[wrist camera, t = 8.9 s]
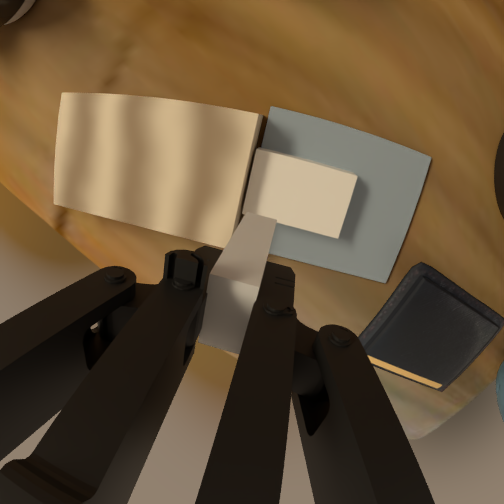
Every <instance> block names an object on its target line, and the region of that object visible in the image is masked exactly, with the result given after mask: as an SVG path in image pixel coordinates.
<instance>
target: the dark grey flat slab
mask: <svg viewBox="0 0 504 504" xmlns="http://www.w3.org/2000/svg"><path fill="white" fill-rule="evenodd" d="M503 325H504V318H503V317H502V316H500V315H499V314H498V313H497V312H495V311H494V310H492V309H491V308H490V307H488V306H487V305H485V304H484V303H482V302H481V301H479V300H478V299H476V298H475V297H473V296H472V295H470V294H469V293H468V292H466V291H465V290H463V289H462V288H461V287H459V286H458V285H456V284H455V283H454V282H452V281H451V280H449V279H448V278H447V277H445V276H444V275H442V274H441V273H440V272H438V271H437V270H436V269H434V268H433V267H431V266H429V265H427V264H425V263H422V262H420V263H418V264H417V265H415V266H413V267H412V268H411V269H410V270H409V272H408V273H407V274H406V275H405V277H404V278H403V279H402V281H401V282H400V284H399V285H398V286H397V288H396V289H395V291H394V292H393V293H392V295H391V296H390V298H389V299H388V300H387V302H386V303H385V304H384V306H383V307H382V308H381V310H380V311H379V312H378V314H377V315H376V316H375V317H374V319H373V320H372V321H371V322H370V323H369V325H368V326H367V327H366V328H365V329H364V331H363V332H362V333H361V334H360V335H359V337H358V338H359V340H360V342H361V344H362V346H363V348H364V350H365V351H366V353H367V355H368V357H369V359H370V361H371V363H372V365H373V366H375V367H377V368H380V369H382V370H385V371H388V372H390V373H393V374H395V375H398V376H400V377H403V378H406V379H408V380H411V381H414V382H416V383H419V384H422V385H424V386H427V387H430V388H433V389H435V390H438V391H441V392H443V391H444V390H445V389H446V388H447V387H448V386H449V385H450V384H451V383H452V382H453V381H454V380H455V379H457V378H458V377H459V376H460V375H461V374H462V373H463V372H464V371H465V370H466V369H467V368H468V366H469V365H470V364H471V363H472V362H473V361H474V360H475V359H476V358H477V357H478V356H479V355H480V354H481V352H482V351H483V350H484V349H485V348H486V347H487V346H488V345H489V343H490V342H491V341H492V340H493V339H494V338H495V336H496V335H497V334H498V333H499V331H500V330H501V329H502V327H503Z"/></svg>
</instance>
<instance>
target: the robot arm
mask: <svg viewBox="0 0 504 504" xmlns="http://www.w3.org/2000/svg"><path fill="white" fill-rule="evenodd" d="M494 183H495V193H496V198H497V203H498V206H499V209H500V212H501V214H502V216H503V218H504V133H503V135H502V138H501V140H500V143H499V146H498V150H497V154H496V160H495V170H494ZM276 222H277V220H276V219H272V218H269V217H265V216H261V215H257V214H253V213H249V212H246V214H245V215H244V217H243V219H242V220H241V222H240V224H239V225H238V227H237V229H236V230H235V232H234V234H233V235H232V237H231V239H230V240H229V242H228V244H227V245H226V247H225V249H224V250H219V249H215V248H212V247H208V246H203V247H201V248H198V249H196V250H195V251H189V250H174V251H170V252H168V253H167V254H165V263H164V274H163V279H162V280H161V281H160V282H159V284H156V285H154V284H141V283H136V275H135V273H134V272H132V271H131V270H130V269H127V268H124V267H121V266H110V267H105V268H102V269H100V270H98V271H96V272H94V273H92V274H90V275H88V276H86V277H85V278H83V279H81V280H79V281H77V282H75V283H73V284H71V285H69V286H68V287H66V288H64V289H62V290H60V291H58V292H56V293H55V294H53V295H51V296H49V297H47V298H46V299H44V300H42V301H40V302H38V303H36V304H35V305H33V306H31V307H29V308H28V309H26V310H24V311H22V312H20V313H19V314H17V315H15V316H13V317H12V318H10V319H8V320H6V321H5V322H3V323H1V324H0V461H1V460H2V459H3V458H5V457H6V456H7V455H8V454H9V453H10V452H12V451H13V450H14V449H15V448H16V447H17V446H19V445H20V444H21V443H22V442H23V441H24V440H26V439H27V438H28V437H29V436H31V435H32V434H33V433H34V432H35V431H36V430H38V429H39V428H40V427H41V426H42V425H44V424H45V423H46V422H47V421H48V420H50V419H51V418H52V417H53V416H54V415H55V414H57V413H58V412H59V411H60V410H61V409H62V410H61V412H60V413H59V415H58V416H57V417H56V419H55V420H54V422H53V423H52V424H51V426H50V427H49V429H48V430H47V432H46V433H45V435H44V436H43V438H42V439H41V441H40V442H39V444H38V445H37V447H36V448H35V450H34V451H33V452H32V454H31V455H30V456H29V457H27V458H26V459H16V460H12V461H10V462H8V463H6V464H5V465H4V466H3V468H2V469H1V470H0V504H127V503H128V501H129V498H130V496H131V494H132V491H133V489H134V487H135V484H136V482H137V480H138V478H139V475H140V473H141V470H142V468H143V466H144V464H145V462H146V459H147V457H148V455H149V452H150V450H151V448H152V445H153V443H154V441H155V439H156V437H157V434H158V432H159V430H160V427H161V425H162V423H163V420H164V418H165V416H166V414H167V412H168V409H169V407H170V405H171V403H172V400H173V398H174V396H175V394H176V391H177V389H178V387H179V385H180V383H181V380H182V378H183V376H184V373H185V371H186V369H187V367H188V365H189V363H190V360H191V358H192V356H193V354H194V349H195V342H196V340H197V337H198V335H199V341H198V342H199V343H202V344H205V345H209V346H212V347H215V348H219V349H222V350H226V351H229V352H233V353H237V354H239V357H238V361H237V365H236V368H235V371H234V375H233V378H232V382H231V385H230V389H229V392H228V396H227V399H226V403H225V406H224V409H223V412H222V416H221V420H220V423H219V426H218V430H217V433H216V436H215V440H214V443H213V447H212V450H211V453H210V456H209V460H208V463H207V466H206V469H205V473H204V476H203V479H202V483H201V486H200V489H199V492H198V496H197V499H196V502H195V504H279V500H280V493H281V485H282V477H283V469H284V460H285V451H286V442H287V432H288V422H289V413H290V401H291V397H292V401H293V406H294V410H295V415H296V419H297V424H298V428H299V433H300V437H301V442H302V446H303V451H304V456H305V460H306V464H307V469H308V474H309V478H310V483H311V487H312V492H313V496H314V501H315V504H435V503H434V500H433V498H432V495H431V493H430V490H429V488H428V485H427V483H426V481H425V478H424V476H423V473H422V471H421V469H420V467H419V464H418V462H417V459H416V457H415V455H414V453H413V450H412V448H411V446H410V444H409V441H408V439H407V437H406V435H405V432H404V430H403V428H402V426H401V424H400V422H399V419H398V417H397V415H396V413H395V411H394V409H393V407H392V404H391V402H390V400H389V398H388V396H387V394H386V392H385V390H384V388H383V386H382V384H381V382H380V380H379V377H378V375H377V373H376V371H375V369H374V367H373V365H372V363H371V361H370V359H369V357H368V355H367V353H366V351H365V350H364V348H363V346H362V344H361V342H360V340H359V338H358V337H357V336H356V335H355V334H354V333H353V332H352V331H350V330H349V329H347V328H344V327H342V326H338V325H325V326H323V327H321V328H320V330H319V332H317V331H315V330H313V329H311V328H309V327H307V326H305V325H304V324H302V323H301V322H300V321H299V320H298V319H297V314H296V310H295V309H294V307H293V304H294V287H295V273H294V272H293V270H292V269H291V267H287V266H283V265H279V264H276V263H272V262H268V261H267V257H268V253H269V249H270V245H271V241H272V238H273V234H274V230H275V226H276ZM97 322H98V326H97V327H96V328H94V329H92V330H91V328H90V327H91V326H92V325H94V324H95V323H97ZM199 333H200V334H199ZM496 393H497V401H498V406H499V410H500V413H501V416H502V419H503V421H504V361H503V362H502V364H501V366H500V368H499V370H498V373H497V378H496Z"/></svg>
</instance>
